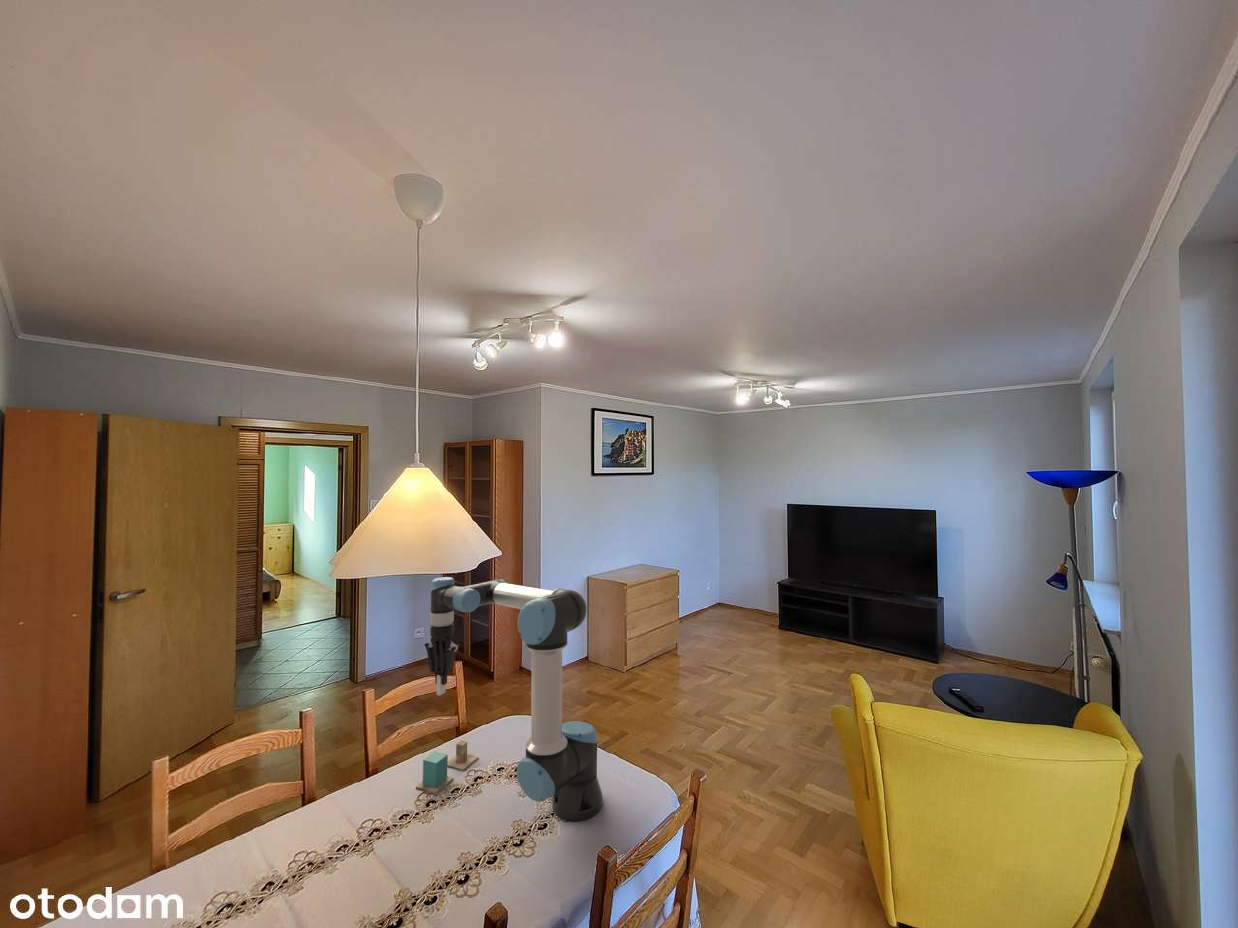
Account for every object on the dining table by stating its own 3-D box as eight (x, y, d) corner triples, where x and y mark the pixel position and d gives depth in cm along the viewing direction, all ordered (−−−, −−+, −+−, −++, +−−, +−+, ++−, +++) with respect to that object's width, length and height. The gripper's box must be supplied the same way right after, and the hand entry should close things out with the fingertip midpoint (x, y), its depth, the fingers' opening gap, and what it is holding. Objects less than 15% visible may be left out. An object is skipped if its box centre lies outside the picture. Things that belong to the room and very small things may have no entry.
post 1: (453, 779, 157) (453, 758, 157) (435, 794, 149) (436, 772, 149) (433, 774, 159) (434, 753, 160) (415, 788, 152) (416, 766, 152)
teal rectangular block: (447, 779, 156) (447, 754, 156) (435, 788, 151) (436, 763, 151) (434, 775, 158) (434, 751, 158) (422, 784, 153) (423, 759, 153)
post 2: (478, 758, 169) (478, 739, 169) (463, 770, 161) (463, 750, 161) (459, 753, 172) (460, 734, 172) (444, 765, 164) (444, 746, 164)
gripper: (464, 622, 166) (463, 691, 165) (434, 618, 170) (433, 686, 169) (450, 628, 159) (449, 701, 158) (419, 624, 163) (417, 695, 162)
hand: (440, 693), depth 163 cm, fingers closed
